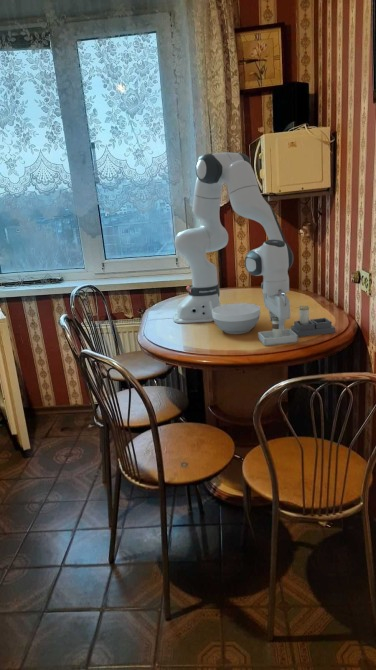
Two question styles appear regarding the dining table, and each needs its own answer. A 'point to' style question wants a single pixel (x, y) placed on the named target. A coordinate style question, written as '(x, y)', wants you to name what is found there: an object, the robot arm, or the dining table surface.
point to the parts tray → (268, 339)
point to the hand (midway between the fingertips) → (277, 325)
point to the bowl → (236, 317)
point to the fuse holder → (313, 327)
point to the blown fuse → (276, 327)
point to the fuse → (304, 315)
